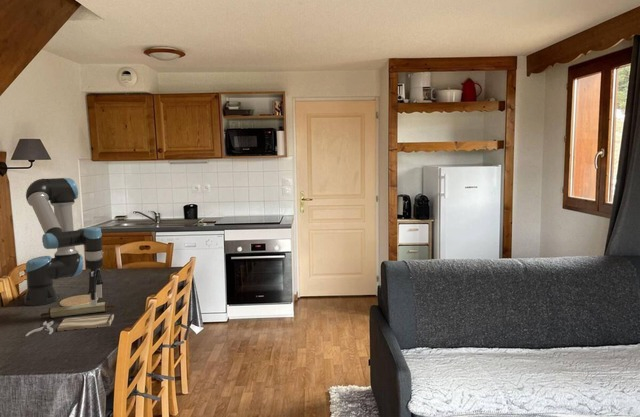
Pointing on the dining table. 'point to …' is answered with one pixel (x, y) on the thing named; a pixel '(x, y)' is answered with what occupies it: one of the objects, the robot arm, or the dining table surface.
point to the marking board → (86, 322)
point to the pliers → (43, 327)
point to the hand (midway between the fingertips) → (96, 301)
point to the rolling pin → (76, 310)
